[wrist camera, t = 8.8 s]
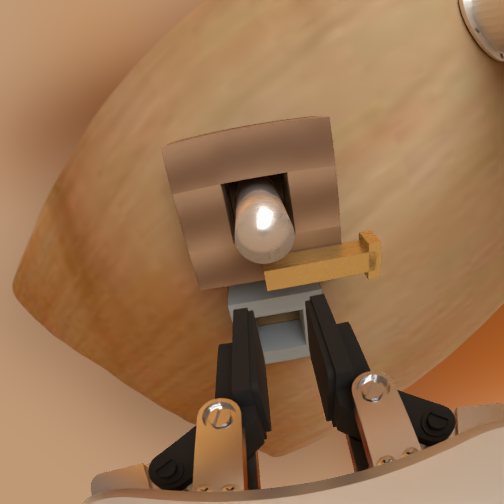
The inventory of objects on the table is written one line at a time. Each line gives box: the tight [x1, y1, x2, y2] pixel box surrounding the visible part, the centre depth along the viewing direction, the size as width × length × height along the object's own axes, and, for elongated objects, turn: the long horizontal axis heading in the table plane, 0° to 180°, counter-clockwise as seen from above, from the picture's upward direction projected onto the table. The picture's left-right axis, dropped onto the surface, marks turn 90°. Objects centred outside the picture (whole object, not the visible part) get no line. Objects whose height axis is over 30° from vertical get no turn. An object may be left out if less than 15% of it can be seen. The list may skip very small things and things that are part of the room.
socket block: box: [161, 116, 341, 290], centre depth 28 cm, size 14×14×6 cm
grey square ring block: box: [228, 280, 322, 364], centre depth 35 cm, size 10×10×5 cm
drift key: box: [263, 231, 381, 291], centre depth 26 cm, size 4×10×2 cm, turn 100°
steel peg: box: [235, 176, 295, 264], centre depth 25 cm, size 4×4×12 cm
